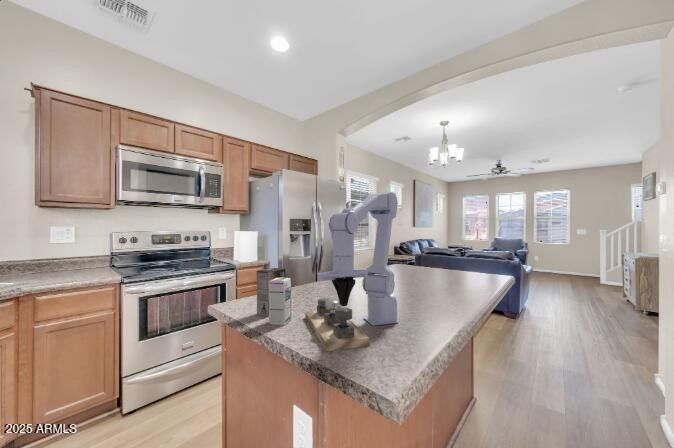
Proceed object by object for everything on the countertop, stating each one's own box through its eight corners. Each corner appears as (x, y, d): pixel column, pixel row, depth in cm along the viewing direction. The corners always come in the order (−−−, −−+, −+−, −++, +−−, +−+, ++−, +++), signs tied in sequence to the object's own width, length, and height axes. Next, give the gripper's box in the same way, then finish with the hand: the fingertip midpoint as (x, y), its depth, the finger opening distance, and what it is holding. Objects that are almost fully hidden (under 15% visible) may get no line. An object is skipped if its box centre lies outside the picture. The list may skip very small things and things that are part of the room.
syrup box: (285, 325, 88) (285, 280, 88) (268, 324, 89) (268, 280, 90) (291, 320, 94) (291, 277, 94) (275, 318, 95) (275, 277, 95)
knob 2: (348, 322, 78) (348, 307, 78) (354, 328, 74) (354, 311, 74) (332, 324, 77) (332, 308, 77) (337, 330, 72) (337, 313, 72)
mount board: (337, 314, 100) (337, 302, 100) (369, 345, 73) (369, 328, 73) (305, 317, 96) (305, 304, 96) (326, 351, 69) (326, 333, 70)
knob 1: (329, 310, 97) (329, 297, 97) (333, 314, 93) (333, 301, 93) (316, 311, 96) (316, 298, 96) (319, 315, 91) (319, 302, 91)
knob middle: (338, 312, 88) (338, 298, 88) (342, 317, 83) (342, 302, 83) (323, 314, 86) (323, 299, 86) (327, 318, 82) (327, 303, 82)
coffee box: (274, 308, 108) (274, 267, 108) (286, 310, 104) (286, 268, 105) (256, 314, 100) (256, 270, 101) (268, 317, 97) (268, 271, 97)
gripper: (359, 253, 82) (359, 299, 82) (313, 255, 76) (313, 304, 76) (371, 255, 76) (371, 304, 76) (323, 258, 70) (323, 311, 69)
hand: (343, 305), depth 75 cm, fingers closed
